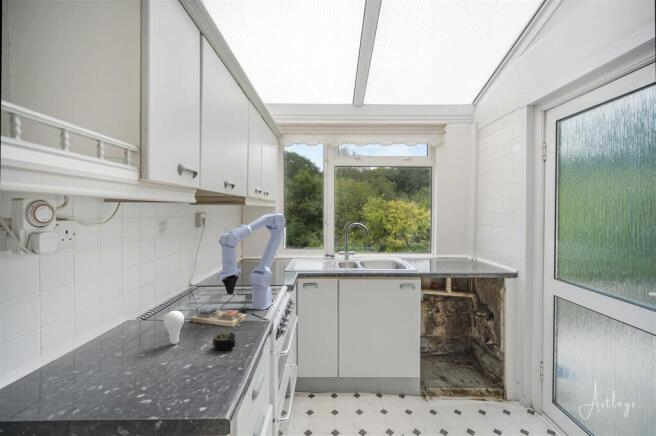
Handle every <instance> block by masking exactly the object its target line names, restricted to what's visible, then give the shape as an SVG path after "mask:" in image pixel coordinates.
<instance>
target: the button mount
mask: <svg viewBox="0 0 656 436" xmlns="http://www.w3.org/2000/svg"><path fill="white" fill-rule="evenodd" d="M225 312H226V311H220V310H218V309H216V312H214V313H212V314H210V315H203V314H200V312H198V313H196V314H195V315H194V316H191V317H189V322H190V321H193V322H192V323H197V322H199V323H200V324H205V323H206V325H213V324H215V326H222V325H223V327H232V328H234V327H235V326H237V325H238V324H241V322H243V321H244V320H246V319H247V318H248V313H242V312H238V315H236V316H234V317H232V318H231V317H222V314H223V313H225ZM199 323H198V324H199Z"/></svg>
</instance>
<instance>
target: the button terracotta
mask: <svg viewBox="0 0 656 436" xmlns="http://www.w3.org/2000/svg"><path fill="white" fill-rule="evenodd" d="M224 312H225V313H223V314H222V317H231V318H232V317H234V316H236V315H238V313H239V310H231V309H228V310H226V311H224Z"/></svg>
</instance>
